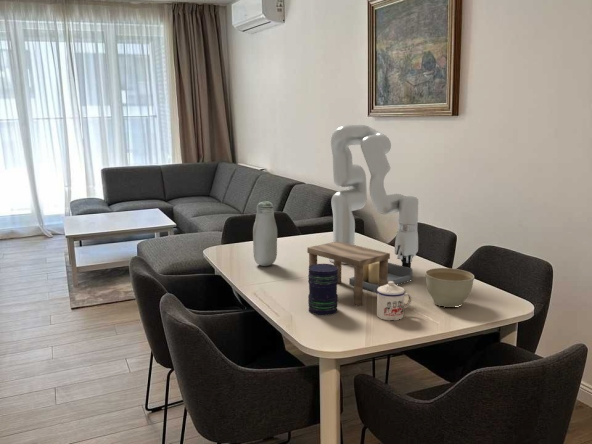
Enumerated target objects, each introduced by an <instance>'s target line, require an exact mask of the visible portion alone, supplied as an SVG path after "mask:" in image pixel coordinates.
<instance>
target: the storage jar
mask: <svg viewBox="0 0 592 444" xmlns="http://www.w3.org/2000/svg"><path fill="white" fill-rule="evenodd" d="M307 277H308V278H307V279H308V290H309V291H308V293H309V294H308V297H307V298H308V300H307V302H308V304H307V305H308V312H309V314H312V315H316V316H325V317H326V316H333V315H335V314H336V313H338V303H339V300H338V298H339V297H338V284H339V283H338V267H337V266H335V265H334V264H331V263H317V264H314V265H311V266H309V265H308V276H307Z"/></svg>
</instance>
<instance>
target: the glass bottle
mask: <svg viewBox="0 0 592 444" xmlns="http://www.w3.org/2000/svg"><path fill="white" fill-rule="evenodd" d="M274 211H275V207H274V204H273V203H272V202H271V201H266V200H265V201H261V202H259V203H257V205H256V214H255V219H254V220H255V221H254V222H253V226H252V243H253V244H252V245H253V259H254V262H255V263H256V264H257V265H259V266H262V267H267V266H268V267H269V266H272V265H273V264H274V263H275V262H276V260H277V255H278V227H277V223H276V219H275V212H274Z"/></svg>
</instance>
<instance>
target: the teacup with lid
mask: <svg viewBox="0 0 592 444" xmlns="http://www.w3.org/2000/svg"><path fill="white" fill-rule="evenodd" d="M376 293H377V295H376V297H377V299H376V316H377V318H379V319H381V320H384V321H390V320H394V321H400V320H402V319H403V318H404V316H405V315H404V314H405V313H404V311H405V309H407V308H408V307H410V305H411V303H412V300H413V298H412V295H411V294H410V293H409V292H408V293H407V292H406V290H405V289H404V287H402V286H400V285H395V284H394V282H393V281H389V282H388V284H386V285H384V286H380V287H379V288H378V289H377V292H376ZM405 296H406V297H408V299H407V300H408V301H407V302H406V304H405ZM399 319H400V320H399Z"/></svg>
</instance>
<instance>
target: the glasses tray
mask: <svg viewBox="0 0 592 444" xmlns="http://www.w3.org/2000/svg"><path fill="white" fill-rule="evenodd" d="M348 279H349V281H348V282H349V284H348V285H350V286H353V287H354V276H353V277H349V278H348ZM410 280H412V281H413V268H412V267H411V268H408V267H404V266H402V265H400V264H397V263H391V262H388V277H387V284H388V282H389V281H393V282H394V284H395V285H397V284H400V285H402V284H401V283H403V284H405V283H404V282H407V281H410ZM410 282H411V281H410ZM407 283H408V282H407ZM397 286H398V285H397ZM378 288H379V262H376V263H372V264H368V265H364V266H363V290H366V291H369V292H372V291H373V293H377V289H378Z"/></svg>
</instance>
